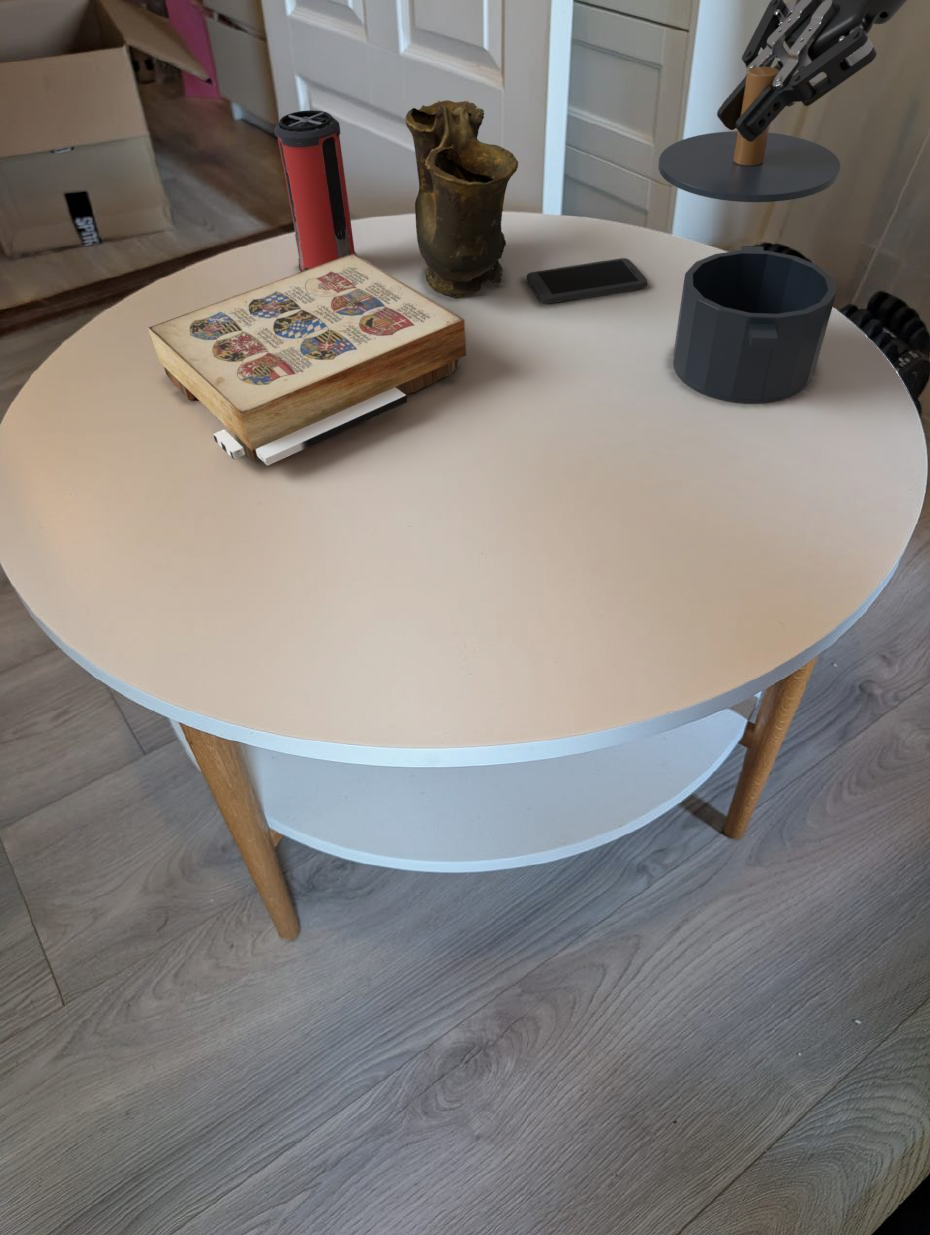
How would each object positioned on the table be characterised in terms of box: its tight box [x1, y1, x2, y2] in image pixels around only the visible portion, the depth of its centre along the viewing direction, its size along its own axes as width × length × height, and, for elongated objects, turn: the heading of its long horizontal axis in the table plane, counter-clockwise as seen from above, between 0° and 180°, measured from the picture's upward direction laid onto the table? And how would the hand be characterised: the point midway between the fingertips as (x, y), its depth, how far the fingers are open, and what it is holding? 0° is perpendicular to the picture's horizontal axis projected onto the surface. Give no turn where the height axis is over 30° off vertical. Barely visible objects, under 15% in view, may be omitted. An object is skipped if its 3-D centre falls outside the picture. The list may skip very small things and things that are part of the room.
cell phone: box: [525, 257, 648, 304], centre depth 109 cm, size 7×14×1 cm, turn 104°
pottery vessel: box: [404, 100, 519, 298], centre depth 105 cm, size 25×11×20 cm, turn 12°
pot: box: [672, 245, 838, 405], centre depth 91 cm, size 15×20×10 cm
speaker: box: [273, 110, 357, 272], centre depth 109 cm, size 8×8×18 cm
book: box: [147, 253, 467, 466], centre depth 94 cm, size 25×6×28 cm
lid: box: [657, 66, 841, 203], centre depth 76 cm, size 16×16×8 cm
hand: (733, 127), depth 75 cm, fingers closed on lid, 2 cm apart
